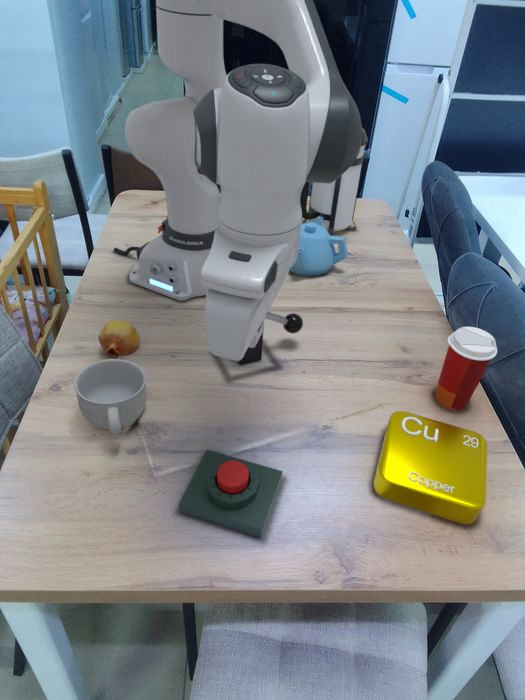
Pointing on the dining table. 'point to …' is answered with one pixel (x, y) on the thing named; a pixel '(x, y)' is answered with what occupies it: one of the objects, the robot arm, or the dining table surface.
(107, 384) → the teacup
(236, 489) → the button
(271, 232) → the robot arm
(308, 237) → the teapot
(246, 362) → the bracket
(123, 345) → the fruit
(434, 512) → the element tile
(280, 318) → the lever
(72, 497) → the dining table surface
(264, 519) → the box
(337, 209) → the coffee press
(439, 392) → the paper cup
